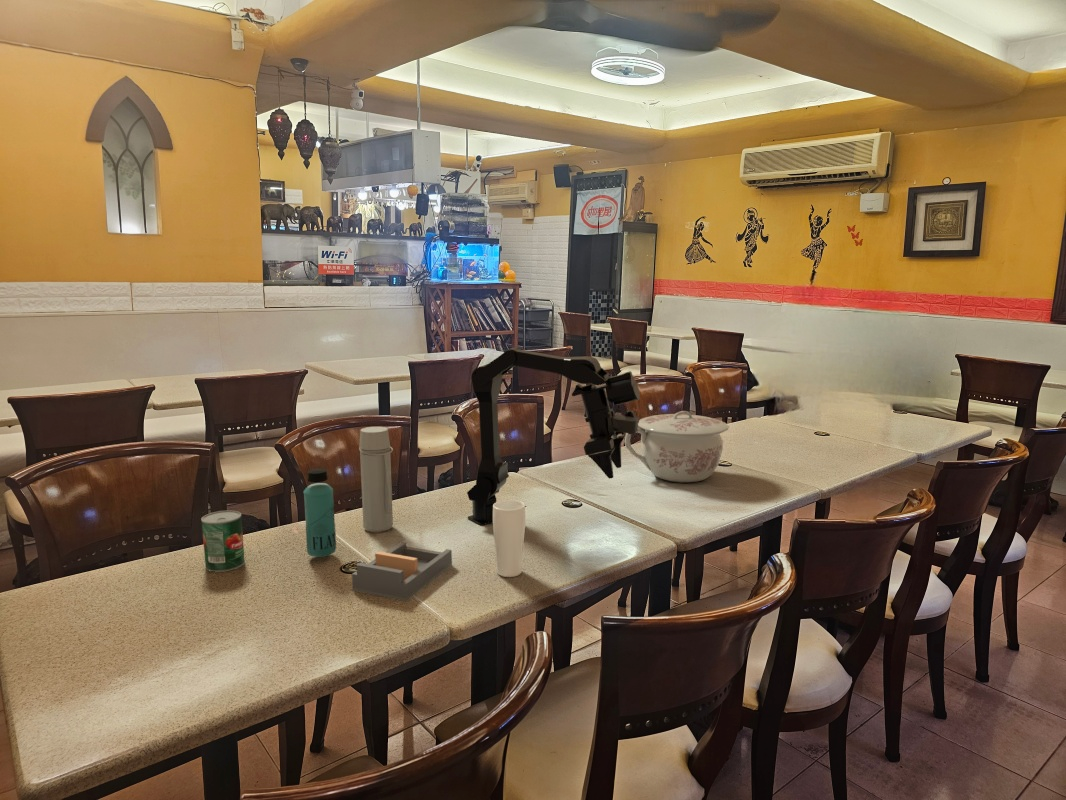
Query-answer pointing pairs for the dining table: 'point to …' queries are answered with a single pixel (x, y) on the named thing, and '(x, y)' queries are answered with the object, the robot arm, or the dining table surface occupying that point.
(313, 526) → the beverage bottle
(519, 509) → the drinking glass
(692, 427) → the chamber pot
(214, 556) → the canned tomato
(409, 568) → the block
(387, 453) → the water bottle
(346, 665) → the dining table surface
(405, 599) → the gray tray
